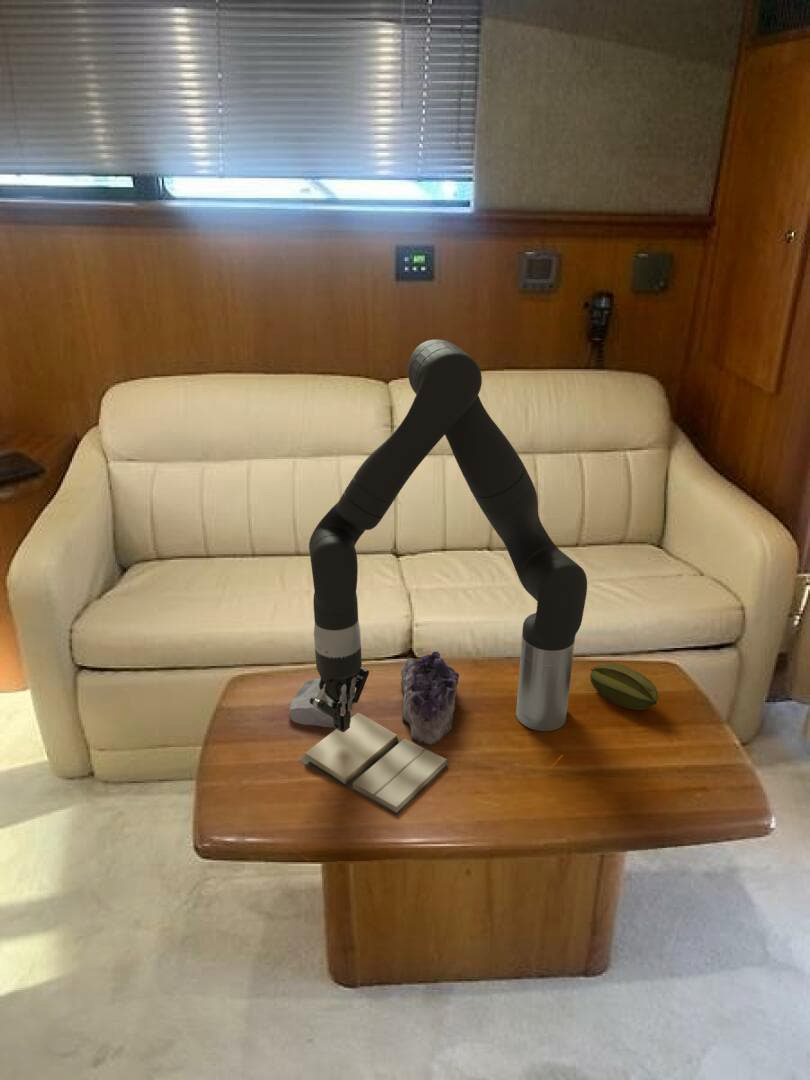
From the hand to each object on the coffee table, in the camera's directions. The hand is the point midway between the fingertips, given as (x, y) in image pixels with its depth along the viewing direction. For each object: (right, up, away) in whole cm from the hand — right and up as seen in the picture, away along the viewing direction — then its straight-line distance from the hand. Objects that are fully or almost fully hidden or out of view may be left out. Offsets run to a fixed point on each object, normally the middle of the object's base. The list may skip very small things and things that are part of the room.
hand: (342, 728), depth 135 cm
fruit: (+52, +1, +16) cm, 55 cm away
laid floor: (+6, -6, -1) cm, 8 cm away
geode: (+16, 0, +12) cm, 20 cm away
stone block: (-5, 0, +13) cm, 14 cm away
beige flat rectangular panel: (+2, -4, +1) cm, 4 cm away
